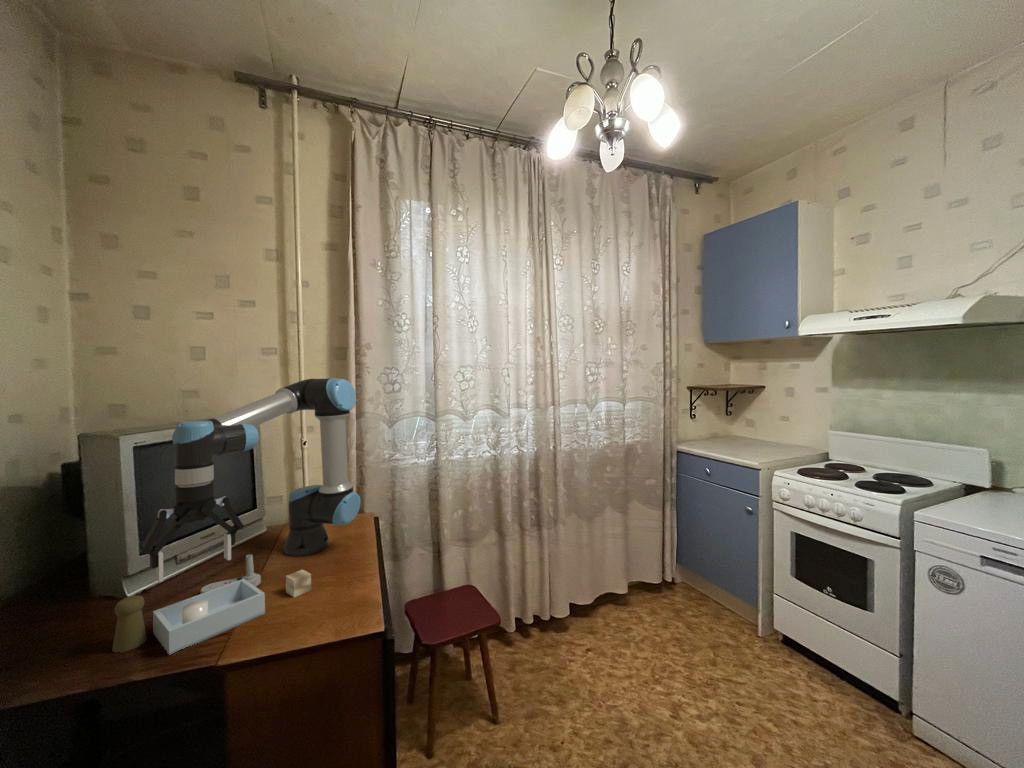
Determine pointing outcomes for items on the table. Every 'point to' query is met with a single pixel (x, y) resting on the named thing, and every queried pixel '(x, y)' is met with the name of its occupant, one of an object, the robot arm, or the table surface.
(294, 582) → the beech cube
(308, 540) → the robot arm
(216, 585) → the electronic device
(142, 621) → the cork
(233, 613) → the tote
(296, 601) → the table surface
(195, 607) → the white egg
